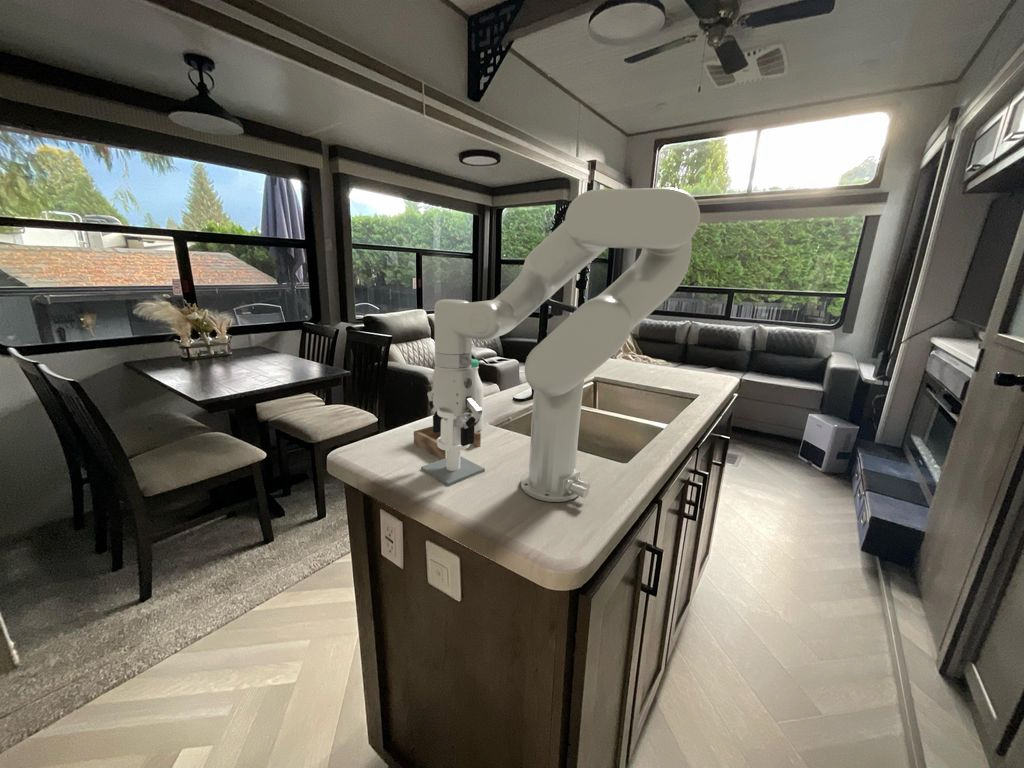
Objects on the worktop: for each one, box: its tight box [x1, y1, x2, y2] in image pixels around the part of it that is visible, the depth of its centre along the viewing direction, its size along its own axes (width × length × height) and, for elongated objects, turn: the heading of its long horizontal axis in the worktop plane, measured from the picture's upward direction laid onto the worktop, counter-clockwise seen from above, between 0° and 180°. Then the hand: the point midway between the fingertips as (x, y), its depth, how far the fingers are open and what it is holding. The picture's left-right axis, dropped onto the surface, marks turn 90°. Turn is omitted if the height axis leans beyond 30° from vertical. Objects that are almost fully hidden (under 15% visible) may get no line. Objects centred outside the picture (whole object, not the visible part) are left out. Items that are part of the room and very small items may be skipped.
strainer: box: [436, 408, 471, 471], centre depth 87 cm, size 7×7×15 cm
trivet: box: [420, 455, 486, 487], centre depth 89 cm, size 10×10×1 cm
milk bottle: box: [463, 358, 485, 432], centre depth 112 cm, size 8×8×20 cm
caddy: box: [413, 425, 482, 460], centre depth 102 cm, size 12×12×4 cm
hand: (453, 437), depth 87 cm, fingers open, 9 cm apart
